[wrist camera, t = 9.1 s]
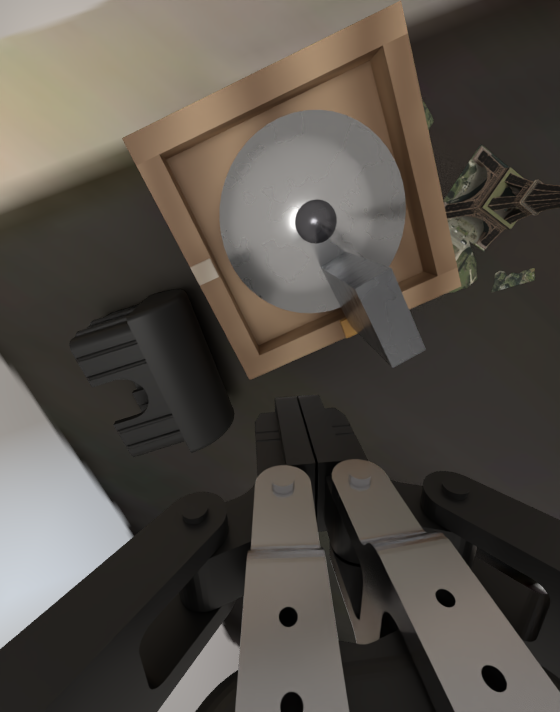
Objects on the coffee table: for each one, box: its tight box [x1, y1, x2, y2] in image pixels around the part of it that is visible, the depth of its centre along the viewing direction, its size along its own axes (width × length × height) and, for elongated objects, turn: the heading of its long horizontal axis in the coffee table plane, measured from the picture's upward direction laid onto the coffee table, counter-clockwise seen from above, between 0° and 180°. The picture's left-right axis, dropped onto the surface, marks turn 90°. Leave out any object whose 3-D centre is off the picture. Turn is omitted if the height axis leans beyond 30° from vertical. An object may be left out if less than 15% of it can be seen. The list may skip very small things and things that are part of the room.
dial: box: [220, 110, 426, 368], centre depth 19 cm, size 13×11×9 cm
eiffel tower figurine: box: [422, 100, 560, 292], centre depth 20 cm, size 15×10×13 cm
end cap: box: [70, 289, 234, 457], centre depth 25 cm, size 10×7×7 cm
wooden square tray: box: [122, 1, 461, 380], centre depth 23 cm, size 16×16×4 cm
